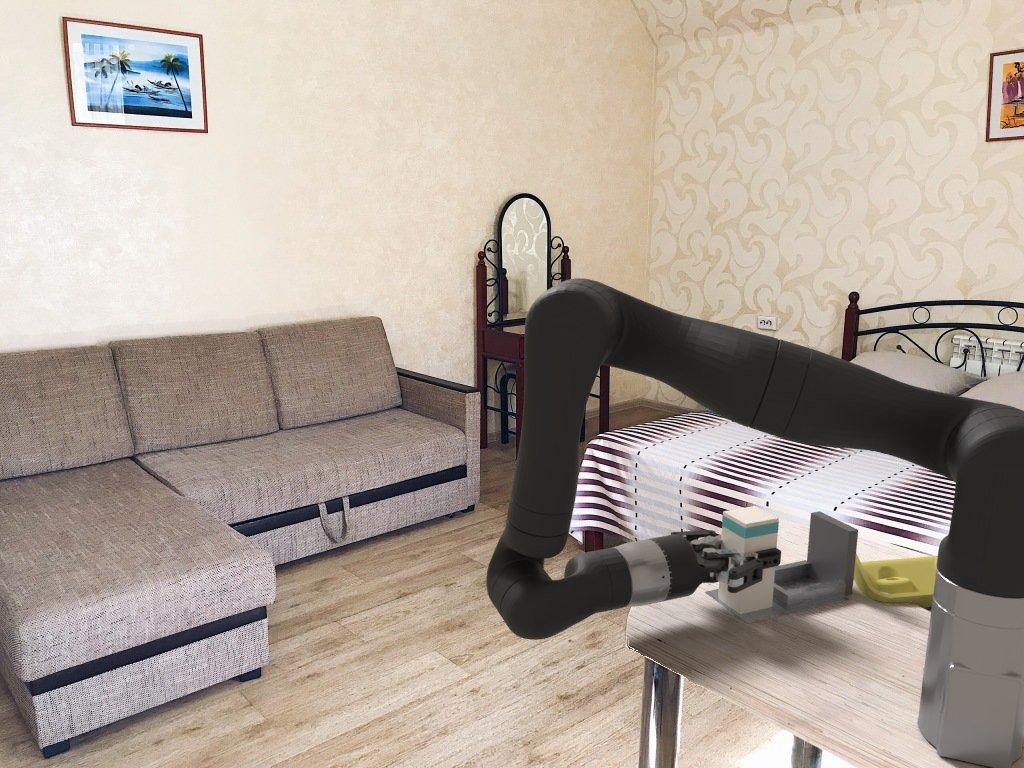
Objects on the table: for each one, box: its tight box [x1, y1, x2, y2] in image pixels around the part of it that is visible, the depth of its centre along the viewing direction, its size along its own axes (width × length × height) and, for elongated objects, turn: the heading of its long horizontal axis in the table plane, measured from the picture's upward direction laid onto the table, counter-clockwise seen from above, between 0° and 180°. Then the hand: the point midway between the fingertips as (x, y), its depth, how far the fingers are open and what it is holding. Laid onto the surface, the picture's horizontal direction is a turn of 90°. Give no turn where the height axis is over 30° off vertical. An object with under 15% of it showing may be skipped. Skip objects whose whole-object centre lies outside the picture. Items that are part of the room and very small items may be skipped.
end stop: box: [806, 511, 859, 597], centre depth 113 cm, size 2×7×10 cm, turn 22°
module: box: [718, 505, 780, 614], centre depth 107 cm, size 5×5×12 cm
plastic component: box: [853, 553, 938, 609], centre depth 114 cm, size 20×7×10 cm
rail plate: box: [704, 559, 850, 624], centre depth 110 cm, size 16×9×4 cm, turn 113°
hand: (765, 548), depth 108 cm, fingers closed on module, 4 cm apart
